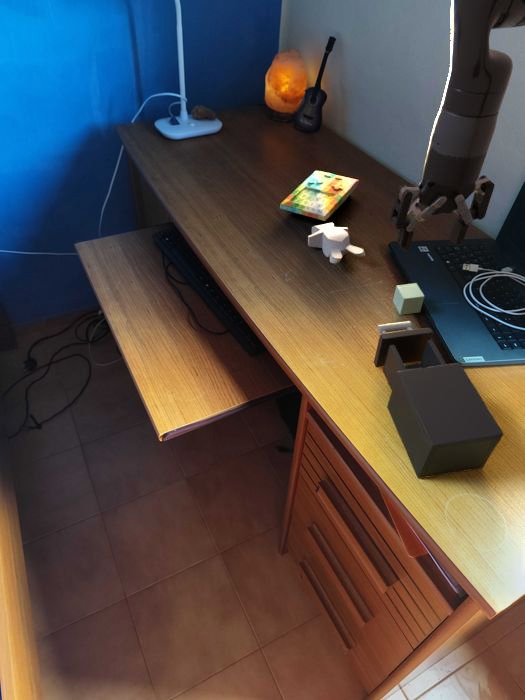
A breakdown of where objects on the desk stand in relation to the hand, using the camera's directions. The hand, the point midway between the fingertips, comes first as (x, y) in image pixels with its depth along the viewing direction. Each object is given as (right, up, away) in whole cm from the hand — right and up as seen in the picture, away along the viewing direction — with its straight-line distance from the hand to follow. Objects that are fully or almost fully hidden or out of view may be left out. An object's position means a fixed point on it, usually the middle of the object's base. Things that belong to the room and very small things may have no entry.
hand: (429, 244), depth 74 cm
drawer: (-3, -21, +3) cm, 21 cm away
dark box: (-1, -30, -5) cm, 30 cm away
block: (+1, -8, +16) cm, 18 cm away
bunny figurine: (-11, +5, +29) cm, 31 cm away
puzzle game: (-12, +19, +43) cm, 48 cm away
